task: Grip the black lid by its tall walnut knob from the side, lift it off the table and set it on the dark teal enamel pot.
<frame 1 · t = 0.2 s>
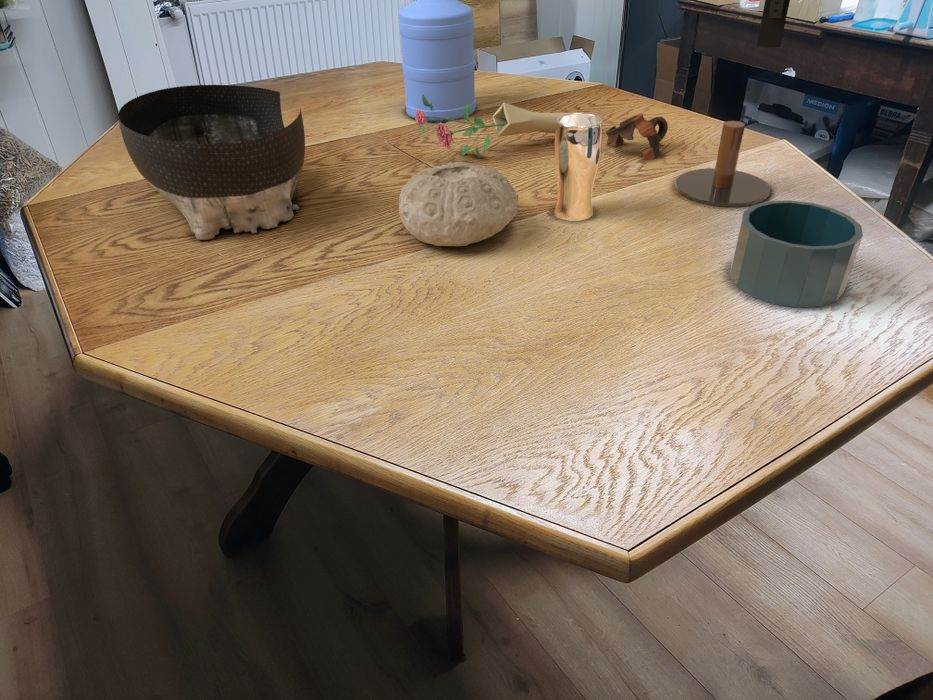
hand: (769, 35, 89), 26 cm above the table, tool pointing down, fingers open, 13 cm apart
lid: (721, 188, 113), point 1 cm above the table
flower vase: (506, 153, 132), on the table
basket: (231, 201, 117), on the table
pot: (784, 282, 89), on the table
decorative shell: (459, 234, 104), on the table
water jug: (441, 113, 153), on the table
beer glass: (573, 216, 108), on the table
twisted brown loop sculpture: (637, 154, 129), on the table
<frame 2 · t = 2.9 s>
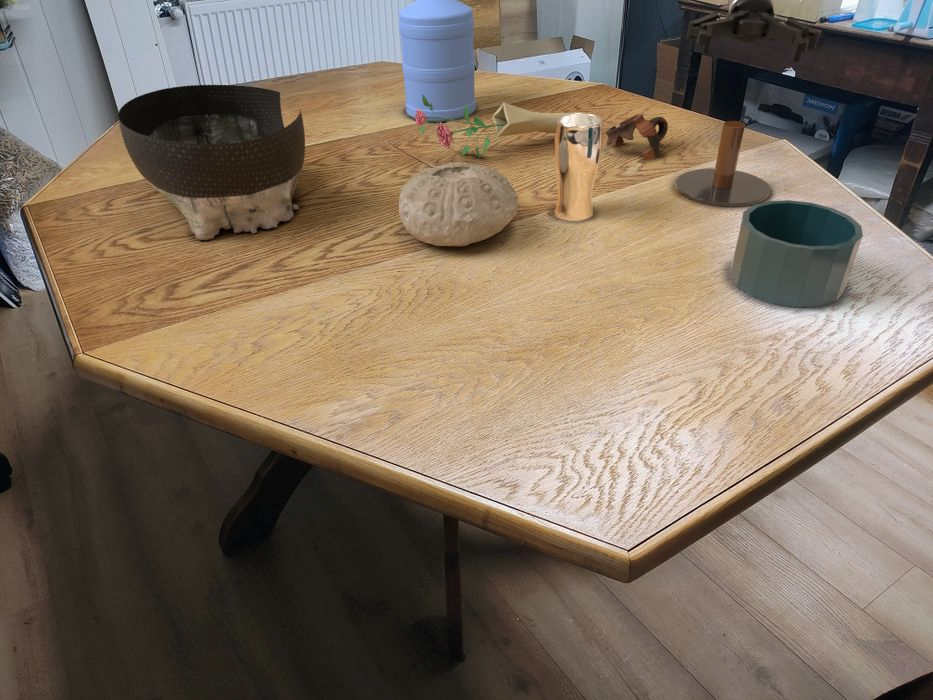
hand: (752, 48, 106), 21 cm above the table, tool horizontal, fingers open, 13 cm apart
nothing on the table moved.
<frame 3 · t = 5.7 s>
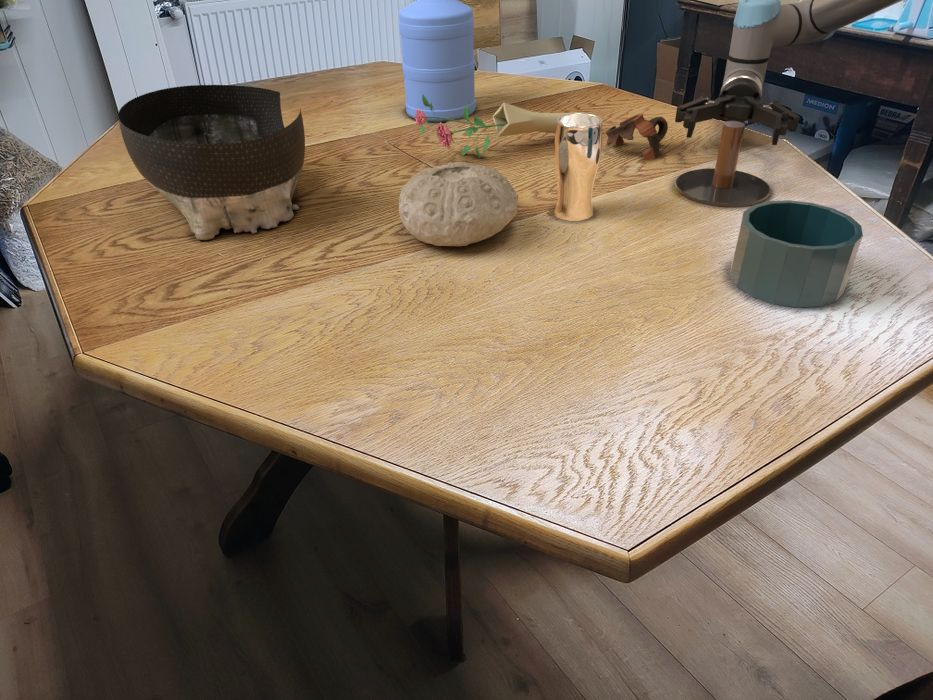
hand: (732, 133, 113), 8 cm above the table, tool horizontal, fingers open, 13 cm apart
nothing on the table moved.
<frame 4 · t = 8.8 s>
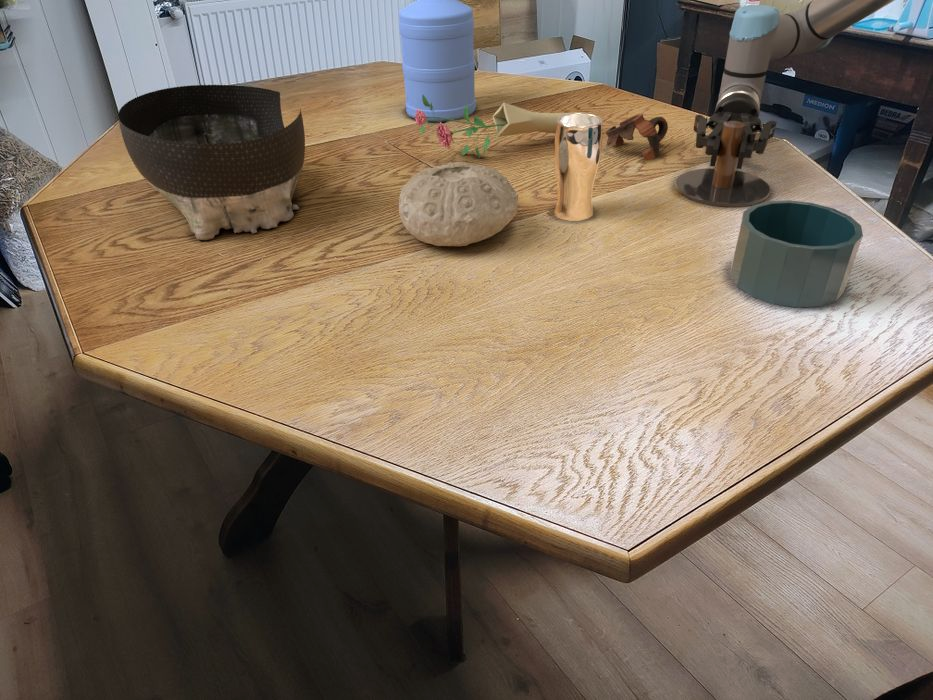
hand: (727, 159, 105), 8 cm above the table, tool horizontal, fingers closed on lid, 3 cm apart
lid: (721, 188, 113), point 1 cm above the table, touching gripper
everything else where it was.
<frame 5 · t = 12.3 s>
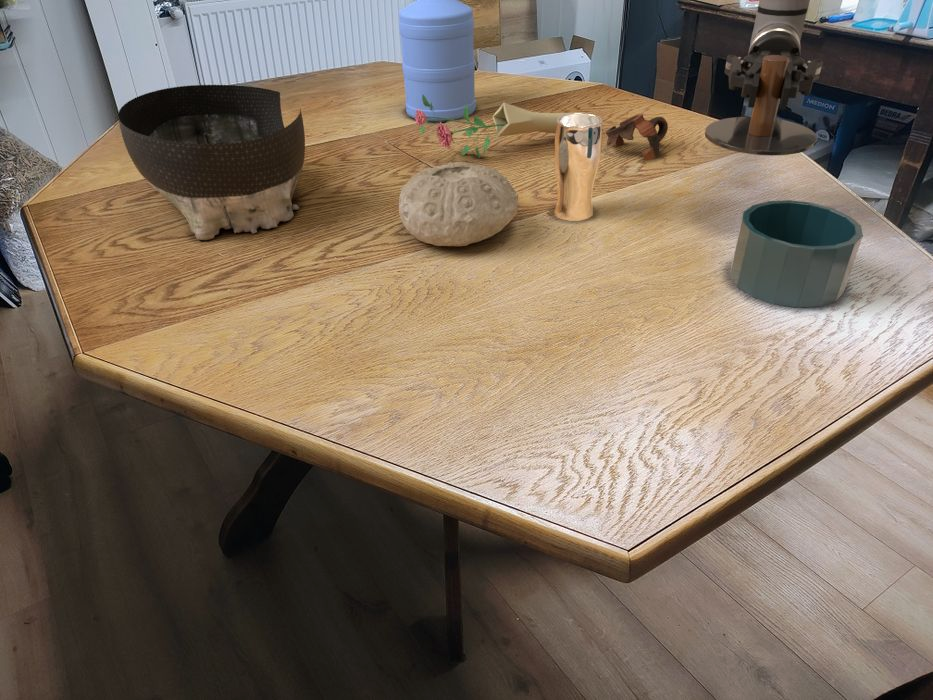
hand: (769, 97, 89), 20 cm above the table, tool horizontal, fingers closed on lid, 3 cm apart
lid: (759, 137, 97), point 13 cm above the table, touching gripper
everything else where it was.
when the fingers open (15 cm above the table, at t = 16.2 s): lid stays where it is, resting on pot.
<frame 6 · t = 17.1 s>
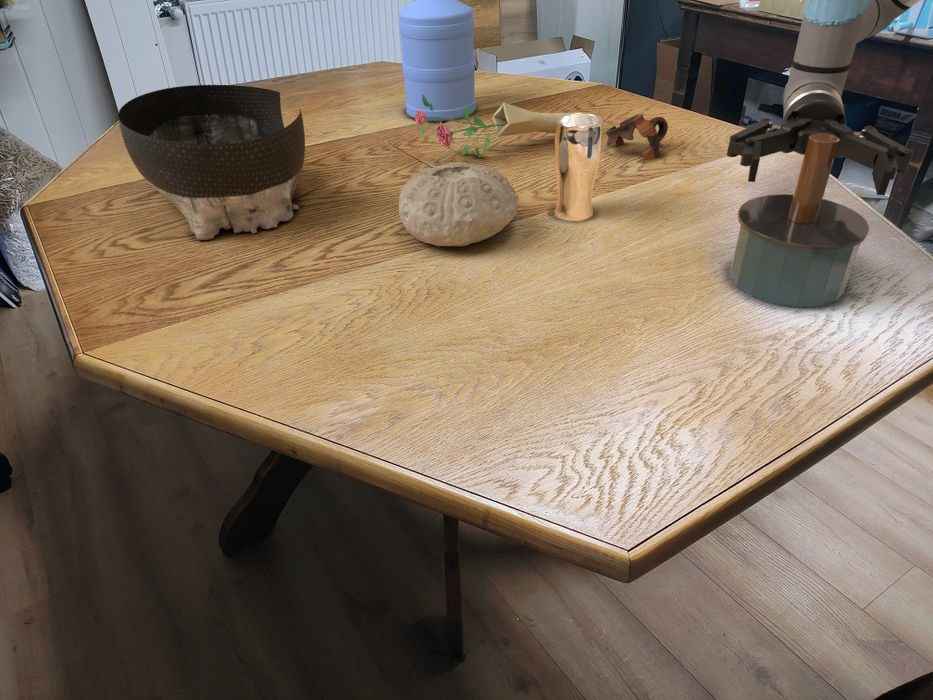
hand: (817, 177, 77), 16 cm above the table, tool horizontal, fingers open, 13 cm apart
lid: (800, 222, 84), point 8 cm above the table, touching pot
everything else where it was.
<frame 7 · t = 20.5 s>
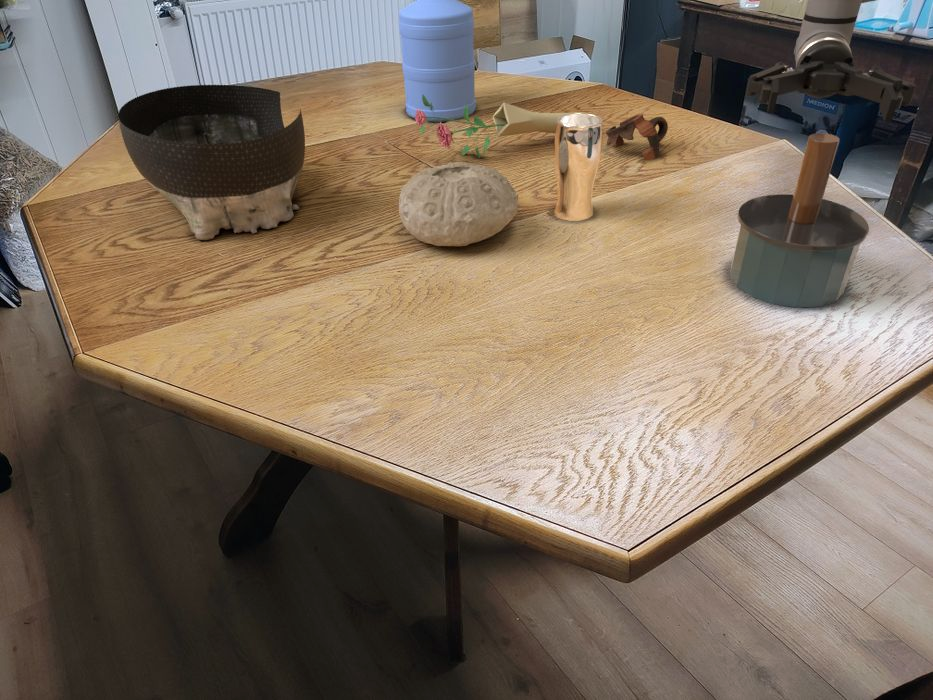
hand: (830, 107, 86), 19 cm above the table, tool horizontal, fingers open, 13 cm apart
nothing on the table moved.
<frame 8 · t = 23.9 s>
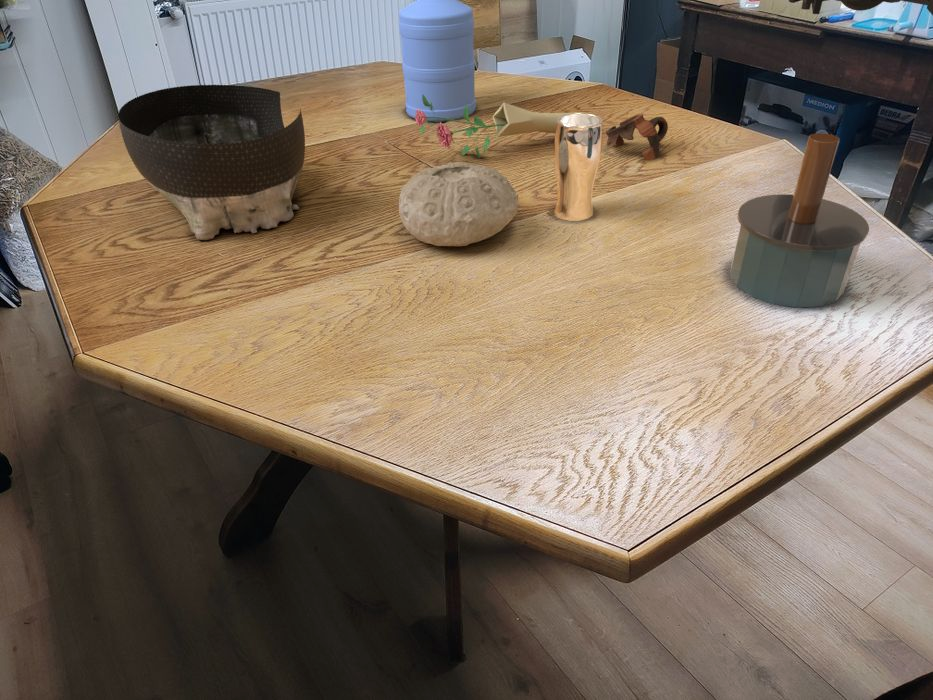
hand: (879, 4, 84), 30 cm above the table, tool horizontal, fingers open, 13 cm apart
nothing on the table moved.
at the end: lid 0.0 cm off-centre on the pot, point 8.5 cm above the pot's base; lid tilted 0°; the gripper is holding nothing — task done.
